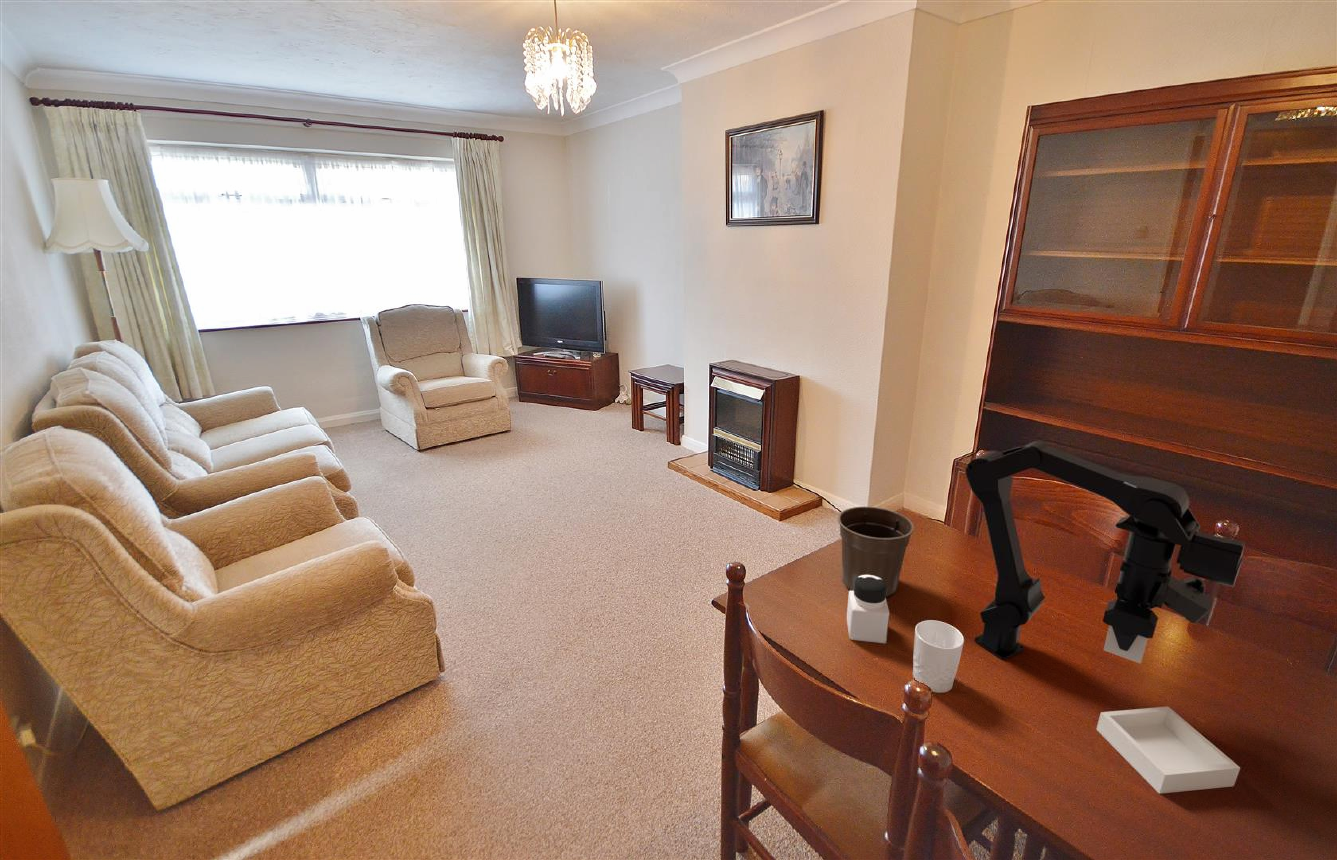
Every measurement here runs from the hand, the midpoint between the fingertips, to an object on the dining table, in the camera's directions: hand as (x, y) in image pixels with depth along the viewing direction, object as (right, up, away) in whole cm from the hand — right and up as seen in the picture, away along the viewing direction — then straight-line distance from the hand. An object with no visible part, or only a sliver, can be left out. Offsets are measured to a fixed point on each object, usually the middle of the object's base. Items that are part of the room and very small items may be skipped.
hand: (1126, 641), depth 97 cm
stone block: (0, -1, 0) cm, 2 cm away
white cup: (-29, -10, +9) cm, 32 cm away
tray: (-1, -15, -8) cm, 17 cm away
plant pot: (-30, 0, +39) cm, 49 cm away
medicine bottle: (-36, -6, +22) cm, 43 cm away
